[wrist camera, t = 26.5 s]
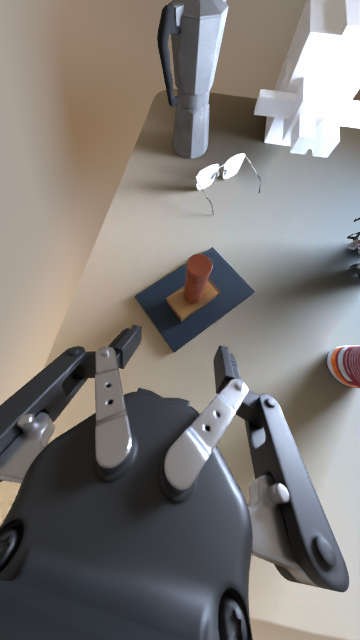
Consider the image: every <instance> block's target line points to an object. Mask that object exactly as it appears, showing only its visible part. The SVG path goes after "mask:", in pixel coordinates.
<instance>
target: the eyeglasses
mask: <svg viewBox="0 0 360 640" xmlns="http://www.w3.org/2000/svg"><path fill="white" fill-rule="evenodd" d="M244 158H246V159H247V160H248V162H249V163H250V165H251V166H252V164H251V162H250V161H249V159H248V158H247V156H245V153H241V154H237V155H235V156H233V157H231V158H229V159H228V160H227V161H226V163H225V164H224V165H222V166H224V169H223V179H227V178H230V177H232V176H234V175H235V174H236V173H237V172H238V170H239V169H240V167H241V165H242V163H243V160H244ZM222 166H220V167H222ZM220 167H219V165H218V164H213V165H210V166H208V167H206V168H204V169H202V170H201V171H200V172H199V173H198V175H197V176H195V180H196V182H197V189H198V190H201V189H202V191H203V189H204V188H206V187H208V186H210V185H211V184H212V183H213V181H214V179H215V177H216V176H217V177H218V175H219V173H218V170H219V168H220ZM252 168H253V169H254V167H253V166H252ZM254 171H255V169H254ZM255 172H256V171H255ZM217 173H218V174H217ZM256 174H257V172H256ZM257 176H258V177H259V175H258V174H257ZM196 178H197V179H196ZM216 179H217V178H216ZM259 179H260V177H259ZM260 188H261V179H260ZM260 188H259V193H260ZM203 192H204V191H203ZM204 194H205V192H204ZM205 195H206V194H205ZM206 197H207V195H206ZM207 199H208V200H209V198H208V197H207ZM209 202H210V203H211V201H210V200H209ZM211 206H212V203H211ZM212 211H213V207H212ZM213 215H214V213H213Z"/></svg>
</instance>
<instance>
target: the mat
mask: <svg viewBox="0 0 360 640" xmlns="http://www.w3.org/2000/svg"><path fill="white" fill-rule="evenodd" d="M203 255H205V256H207V257H209V258H210V260H211V261H212V270H211V273H210V275H209V278H208V280H207V281H208V282H209V283H210V284H211V285H212V286H213V288H214V289H215V290H216V291H217V292H218V294H217V296H216V297H215V298H214V299H213V301H212V302H210V303H209V304H207V305H206V306H205V307H203V308H202V309H200V310H199V311H197V312H196V313H195V314H193V315H192V316H190V317H189V318H188V319H186V320H185V321H183V322H182V323H181V322H180V320H179V319H178V318H177V316H176V315H175V314H174V312H173V311H172V310H171V308H170V307H169V305H168V303H167V299H166V298H167V297H169V296H170V295H172V294H173V293H175V292H176V291H178V290H179V289H181V288H183V287H184V286H185V279H186V269H187V264H185V265H183V266H182V267H180V268H179V269H177V270H176V271H174V272H172V273H171V274H169V275H168V276H166V277H164V278H163V279H161V280H160V281H158V282H156V283H155V284H153V285H152V286H150V287H148V288H147V289H145V290H144V291H142V292H141V293H139V294H137V295H136V296H135V298H136V299H137V300H138V302H139V303H140V305H141V306H142V308H143V309H144V310H145V312H146V313H147V315H148V316H149V317H150V319H151V320H152V322H153V323H154V325H155V326H156V327H157V329H158V330H159V332H160V333H161V334H162V336H163V337H164V339H165V340H166V342H167V343H168V344H169V346H170V347H171V349H172V350H173V351H174V352H176V351H177V350H178V349H180V348H181V347H182V346H184V345H185V344H186V343H188V342H189V341H190V340H192V339H193V338H194V337H196V336H197V335H198V334H200V333H201V332H202V331H204V330H205V329H206V328H208V327H209V326H210V325H212V324H213V323H214V322H216V321H217V320H218V319H220V318H221V317H222V316H224V315H225V314H226V313H228V312H229V311H230V310H232V309H233V308H234V307H236V306H237V305H238V304H240V303H241V302H242V301H244V300H245V299H246V298H248V297H249V296H250V295H252V294H253V293H254V292H255V291H254V290H253V289H252V288H251V287H250V286H249V285H248V284H247V283H246V282H245V281H244V280H243V279H242V278H241V277H240V276H239V275H238V274H237V272H236V271H235V270H234V269H233V268H232V267H231V266H230V265H229V264H228V263H227V262H226V261H225V260H224V259H223V258H222V257H221V256H220V255H219V254H218V253H217V251H216V250H215V249H214V248H213V247H212V248H210V249H209V250H207V251H206V252H204V253H203Z"/></svg>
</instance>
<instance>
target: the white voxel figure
mask: <svg viewBox="0 0 360 640" xmlns="http://www.w3.org/2000/svg"><path fill="white" fill-rule="evenodd" d="M359 88H360V0H307V2H306V5H305V7H304V10H303V13H302V16H301V18H300V21H299V24H298V26H297V29H296V32H295V34H294V37H293V40H292V43H291V45H290V48H289V51H288V53H287V56H286V59H285V62H284V64H283V67H282V70H281V73H280V75H279V78H278V81H277V83H276V86H275V89H274V91H272V90H264V89H261V90H260V93H259V96H258V99H257V102H256V105H255V110H254V115H260V116H267V119H266V129H265V140H264V143H270V144H278V145H285V146H290V153H296V154H303V155H305V154H306V152H307V151H308V149H312V156H318V157H325V158H327V157H328V156H329V155H330V153H331V152H332V151H333V150H334V148H335V147H336V146H337V144H338V143H339V142H340V133H339V126H346V127H354V128H360V101H355V100H352V99H353V97H354V96H355V94H356V93H357V91H358V90H359Z"/></svg>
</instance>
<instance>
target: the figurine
mask: <svg viewBox="0 0 360 640" xmlns="http://www.w3.org/2000/svg"><path fill="white" fill-rule="evenodd" d="M359 219H360V218H358V219H357V220H359ZM357 220H356V219H355V220H354V222H355V221H357ZM356 234H358V235H357V236H356V237H350V236H352V235H353V234H352V235H350V236H348V237H347V238H349V239H353V242H352V243H350V244H349V249H351V250H352V249H357V248H358V249H359V250H358V253H359V254H360V240H358V236H359V235H360V232H358V233H356ZM348 273H353V274H352V275H354V276H356V275H358V276H360V263H357V264H354V265H352V266H350V267H349V270H348ZM359 278H360V277H359Z"/></svg>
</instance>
